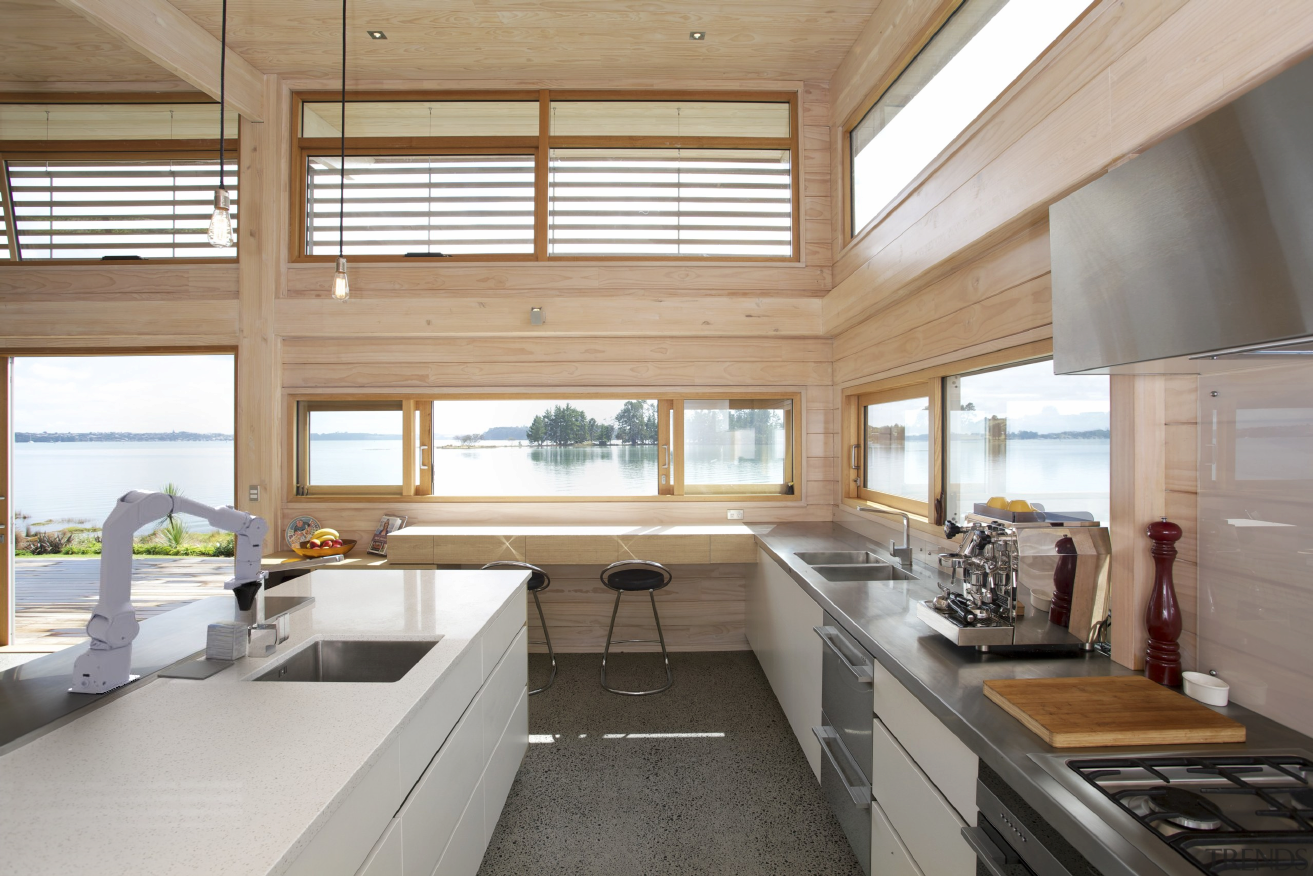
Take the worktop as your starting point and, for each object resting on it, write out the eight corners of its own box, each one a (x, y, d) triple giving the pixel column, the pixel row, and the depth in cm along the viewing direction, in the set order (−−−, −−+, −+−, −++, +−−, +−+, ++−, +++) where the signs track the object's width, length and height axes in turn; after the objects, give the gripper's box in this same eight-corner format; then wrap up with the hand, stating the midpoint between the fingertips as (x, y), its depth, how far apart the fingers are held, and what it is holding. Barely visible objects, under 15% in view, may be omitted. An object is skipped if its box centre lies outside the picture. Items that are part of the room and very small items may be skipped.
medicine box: (246, 655, 156) (249, 622, 156) (232, 661, 151) (235, 627, 152) (218, 652, 157) (221, 619, 157) (204, 658, 152) (207, 624, 152)
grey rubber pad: (203, 679, 139) (203, 677, 139) (157, 676, 140) (157, 674, 140) (234, 664, 149) (234, 662, 149) (191, 661, 150) (191, 659, 150)
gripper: (244, 566, 153) (240, 618, 153) (280, 556, 168) (277, 604, 167) (217, 564, 153) (213, 617, 153) (255, 554, 168) (252, 602, 167)
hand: (244, 610), depth 160 cm, fingers closed
